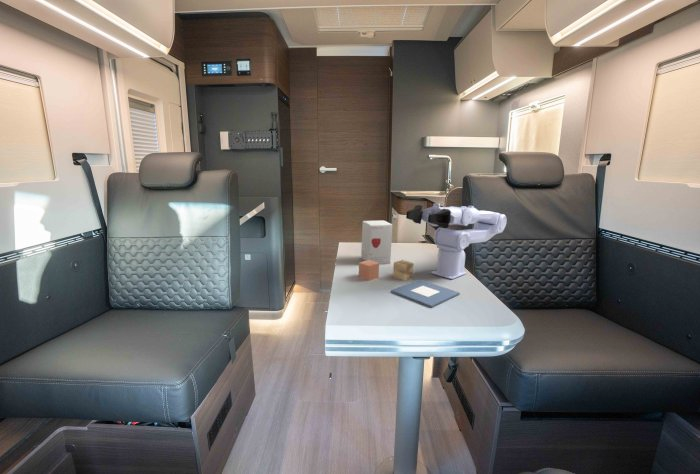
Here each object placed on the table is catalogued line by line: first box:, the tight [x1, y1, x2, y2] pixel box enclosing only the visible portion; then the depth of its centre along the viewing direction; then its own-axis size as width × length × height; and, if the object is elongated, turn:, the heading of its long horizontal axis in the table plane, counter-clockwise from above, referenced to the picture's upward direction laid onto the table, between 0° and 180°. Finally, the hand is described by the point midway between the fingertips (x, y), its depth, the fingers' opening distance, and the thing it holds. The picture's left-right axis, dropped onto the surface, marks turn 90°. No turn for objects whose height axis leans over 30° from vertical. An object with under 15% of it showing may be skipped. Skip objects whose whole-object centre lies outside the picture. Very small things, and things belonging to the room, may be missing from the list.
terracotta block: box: [358, 260, 380, 281], centre depth 109 cm, size 5×5×5 cm
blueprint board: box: [390, 279, 461, 309], centre depth 98 cm, size 14×14×1 cm
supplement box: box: [360, 219, 393, 265], centre depth 126 cm, size 9×9×15 cm
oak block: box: [392, 259, 415, 281], centre depth 110 cm, size 5×5×5 cm
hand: (418, 216), depth 97 cm, fingers open, 7 cm apart
